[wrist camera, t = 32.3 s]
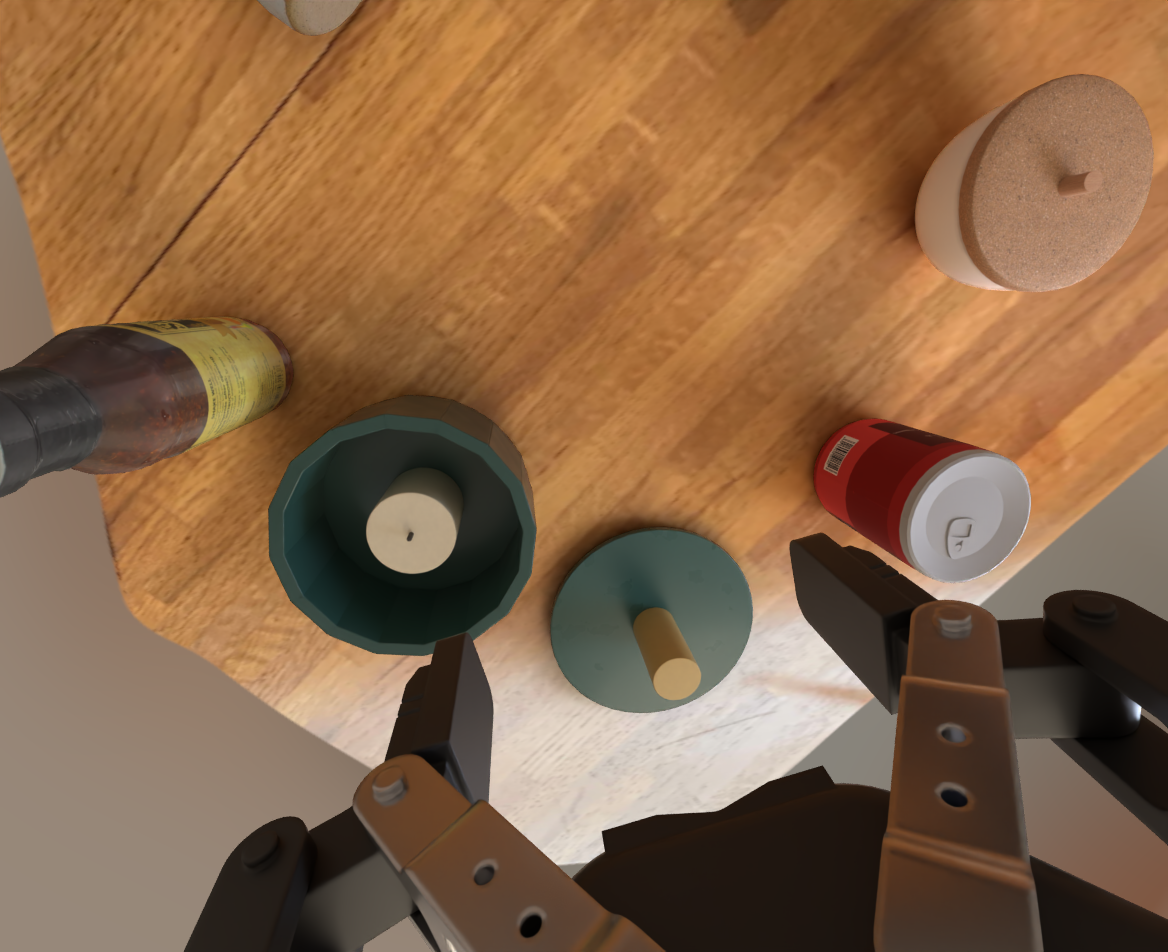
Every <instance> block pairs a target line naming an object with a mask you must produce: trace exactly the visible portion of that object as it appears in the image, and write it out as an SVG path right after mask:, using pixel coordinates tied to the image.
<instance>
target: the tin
mask: <svg viewBox="0 0 1168 952" xmlns="http://www.w3.org/2000/svg"><path fill="white" fill-rule="evenodd" d="M415 468H432V469H436V470H439V471H441V472H443V473H445V474H447V475H448V476H449V477H451V478H452V479H453V480H454V481H455V483H456V484H457V485H458V487H459V488H460V490H461V493H462V496H463V501H464V508H463V514H462V518H461V522H460V526H459V530H458V534H457V538H456V542H455V545H454V548H453V550H452V552H451V554H450V555H449V557H448V558H447V559H446V560H445V561H444V562H443V563H442V564H441V565H439V566H438V567H436V568H434V569H432V570H430V571H427V572H423V573H416V574H409V573H402V572H398V571H395V570H393V569H391V568H389V567H387V566H385V565H384V564H383V563H381V562H380V561H379V560H378V559H377V558H376V557H375V555H374V554H373V552H372V551H371V549H370V547H369V544H368V542H367V537H366V526H367V521H368V518H369V516H370V514H371V512H372V511H373V509H374V508H375V506H376V505H377V503H378V502H379V501H380V499H381V498H382V496H383V495H384V493H385V492H386V491H387V489H388V488H389V486H390V485H391V483H392V482H393V481H394V480H395V479H396V478H397V477H398V476H399V475H401V474H402V473H404V472H406V471H408V470H411V469H415ZM268 514H269V557H270V560H271V562H272V564H273V566H274V568H275V570H276V572H277V574H278V576H279V578H280V581H281V583H282V585H283V587H284V589H285V591H286V593H287V595H288V597H289V599H290V601H292V603H293V604H294V605H295V606H296V607H297V608H299V609H300V610H301V611H302V612H303V613H304V614H305V615H306V616H308V617H309V618H310V619H311V620H312V621H313V622H314V623H315V624H316V625H318V626H319V627H320V628H321V629H322V630H323V631H324V632H325V633H326V634H329V635H330V636H332V637H334V638H337V639H339V640H342V641H344V642H347V643H350V644H352V645H355V646H357V647H360V648H362V649H365V650H367V651H370V652H372V653H376V654H391V655H413V656H425V655H429V654H433V652H434V648H435V644H436V642H437V641H438V640H441V639H445V638H448V637H452V636H455V635H459V634H462V633H466V632H468V633H469V634H470V636H471V638H472V640H475V639H476V638H477V637H478V636H480V635H481V634H482V633H484V632H485V631H486V630H488V629H489V628H490V627H492V626H493V625H494V624H496V623H497V622H498V621H500V620H501V619H502V618H503V617H505V616H506V615H507V614H508V613H509V612H510V610H511V609H512V607H513V605H514V603H515V602H516V600H517V598H518V597H519V595H520V593H521V592H522V590H523V588H524V586H525V585H526V583H527V581H528V580H529V578H530V576H531V573H532V565H533V557H534V548H535V539H536V531H537V530H536V519H535V510H534V500H533V491H532V488H531V485H530V482H529V478H528V475H527V471H526V468H525V466H524V462H523V459H522V456H521V454H520V452H519V451H518V450H517V449H516V447H515V446H514V445H513V443H512V442H511V441H510V439H509V438H508V436H507V435H506V434H505V433H504V432H503V431H502V430H501V429H500V428H499V427H498V426H497V425H496V424H495V423H494V422H493V421H492V420H490V419H488V418H487V417H486V416H484V415H482V414H481V413H479V412H477V411H476V410H474V409H472V408H470V407H468V406H465V405H463V404H461V403H458V402H456V401H454V400H449V399H444V398H438V397H433V396H413V395H405V396H402V397H398V398H393V399H389V400H385V401H383V402H380V403H377V404H373V405H370V406H366V407H364V408H362V409H360V410H359V411H357V412H356V413H354V414H353V415H351V416H350V417H348V418H347V419H345V420H344V421H342V422H341V423H339V424H337V425H336V426H334V427H333V428H331V429H330V430H329V431H327V432H326V433H325V434H324V435H323V436H321V437H320V438H319V439H318V440H316V441H315V442H314V443H313V444H312V445H310V446H309V447H308V448H307V449H306V450H304V451H303V452H302V453H301V454H299V455H298V456H297V457H296V458H295V459H293V460H292V461H291V462H290V463H289V465H288V468H287V470H286V472H285V474H284V476H283V478H282V480H281V482H280V485H279V487H278V489H277V491H276V493H275V495H274V497H273V500H272V502H271V504H270V506H269V509H268Z"/></svg>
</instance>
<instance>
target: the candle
mask: <svg viewBox="0 0 1168 952" xmlns="http://www.w3.org/2000/svg"><path fill="white" fill-rule="evenodd" d="M463 508H464V501H463V496H462V493H461V490H460V488H459V487H458V485H457V484H456V483H455V481H454V480H453V479H452V478H451V477H449V476H448V475H447V474H445V473H443V472H441V471H439V470H436V469H432V468H415V469H411V470H408V471H406V472H404V473H402V474H401V475H399V476H398V477H397V478H396V479H395V480H394V481H393V482H392V483H391V485H390V486H389V488H388V489H387V491H386V492H385V493H384V495H383V496H382V498H381V499H380V501H379V502H378V503H377V505H376V506H375V508H374V509H373V511H372V512H371V514H370V516H369V518H368V521H367V526H366V537H367V542H368V544H369V547H370V549H371V551H372V552H373V554H374V555H375V557H376V558H377V559H378V560H379V561H380V562H381V563H383V564H384V565H385V566H387V567H389V568H391V569H393V570H395V571H398V572H402V573H409V574H416V573H423V572H427V571H430V570H432V569H434V568H436V567H438V566H439V565H441V564H442V563H443V562H444V561H445V560H446V559H447V558H448V557H449V555H450V554H451V552H452V550H453V548H454V545H455V542H456V538H457V534H458V530H459V526H460V522H461V518H462V514H463Z"/></svg>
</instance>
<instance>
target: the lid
mask: <svg viewBox="0 0 1168 952" xmlns="http://www.w3.org/2000/svg"><path fill="white" fill-rule="evenodd" d="M752 618H753V606H752V597H751V593H750V589H749V586H748V583H747V581H746V579H745V576H744V574H743V573H742V571H741V569H740V568H739V566H738V565H737V563H736V562H735V561H734V560H733V559H732V558H731V557H730V555H729V554H728V553H727V552H726V551H725V550H723V549H722V548H721V547H720V546H719V545H717V544H716V543H714V542H713V541H711V540H709V539H708V538H706V537H703V536H701V535H699V534H697V533H694V532H690V531H687V530H683V529H677V528H670V527H652V528H642V529H638V530H633V531H629V532H626V533H623V534H621V535H618V536H615V537H613V538H611V539H609V540H607V541H605V542H603V543H602V544H600V545H599V546H597V547H596V548H594V549H593V550H591V551H590V552H589V553H588V554H586V555H585V556H584V557H583V558H582V559H581V560H580V561H579V562H578V563H577V564H576V565H575V566H574V567H573V568H572V569H571V571H570V572H569V574H568V575H567V577H566V578H565V579H564V581H563V583H562V585H561V587H560V589H559V590H558V592H557V595H556V598H555V601H554V604H553V608H552V613H551V621H550V633H551V643H552V648H553V652H554V656H555V658H556V661H557V663H558V665H559V667H560V669H561V671H562V672H563V674H564V676H565V677H566V678H567V679H568V681H569V682H570V683H571V684H572V685H573V686H574V687H575V688H576V689H577V690H578V691H579V692H580V693H581V694H583V695H584V696H586V697H587V698H589V699H590V700H592V701H594V702H596V703H598V704H600V705H602V706H605V707H608V708H611V709H614V710H619V711H624V712H633V713H651V712H659V711H665V710H669V709H672V708H676V707H679V706H681V705H684V704H687V703H689V702H691V701H693V700H695V699H697V698H699V697H700V696H702V695H704V694H705V693H707V692H708V691H710V690H711V689H712V688H713V687H715V686H716V685H717V684H718V683H720V682H721V681H722V680H723V679H724V678H725V677H726V676H727V675H728V673H729V672H730V671H731V670H732V668H733V667H734V666H735V664H736V663H737V661H738V660H739V658H740V656H741V655H742V653H743V651H744V648H745V646H746V644H747V641H748V638H749V635H750V631H751V625H752Z"/></svg>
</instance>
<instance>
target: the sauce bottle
mask: <svg viewBox="0 0 1168 952" xmlns="http://www.w3.org/2000/svg"><path fill="white" fill-rule="evenodd" d="M292 379H293V367H292V361H291V359H290V357H289V353H288V352H287V349H286V348H285V347H284V345H283V343H282V342H281V340H280V339H279V338H278V337H277V336H276V335H275V334H274V333H272V332H271V331H269V330H268V329H267V328H265V327H263V326H261V325H259V324H256V323H254V322H252V321H250V320H245V319H238V318H233V317H225V316H218V317H205V318H191V319H171V320H160V321H145V322H134V323H117V324H102V325H96V326H86V327H79V328H75V329H71V330H68V331H66V332H63V333H61V334H58V335H57V336H55V337H54V338H53V339H51V340H50V341H49V342H47V343H46V344H44V345H43V346H42V347H40V348H39V349H38V350H36V351H35V352H33V353H32V354H31V355H29V356H28V357H27V358H25V359H24V360H22V361H21V362H19V363H18V364H16V365H15V366H13V367H10V368H7V369H4V370H1V371H0V497H4V496H6V495H8V494H11V493H13V492H15V491H17V490H18V489H19V488H21V487H23V486H24V485H25V484H26V483H27V482H28V481H29V480H30V479H33V478H36V477H39V476H42V475H44V474H47V473H50V472H52V471H63V470H66V469H70V468H72V469H74V470H78V471H82V472H85V473H89V474H114V473H125V472H129V471H134V470H138V469H142V468H144V467H147V466H150V465H152V464H154V463H156V462H158V461H160V460H162V459H165V458H170V457H174V456H177V455H179V454H181V453H184V452H186V451H188V450H190V449H192V448H195V447H197V446H199V445H201V444H203V443H206V442H208V441H210V440H212V439H215V438H217V437H219V436H221V435H223V434H225V433H228V432H230V431H232V430H234V429H237V428H239V427H241V426H243V425H245V424H248V423H250V422H252V421H254V420H256V419H259V418H261V417H263V416H264V415H265V414H267V413H269V412H270V411H271V410H274V409H275V408H277V407H278V406H279V405H280V404H281V403H282V402H283V400H284V399H285V398H286V396H287V394H288V393H289V389H290V387H291V383H292Z"/></svg>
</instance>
